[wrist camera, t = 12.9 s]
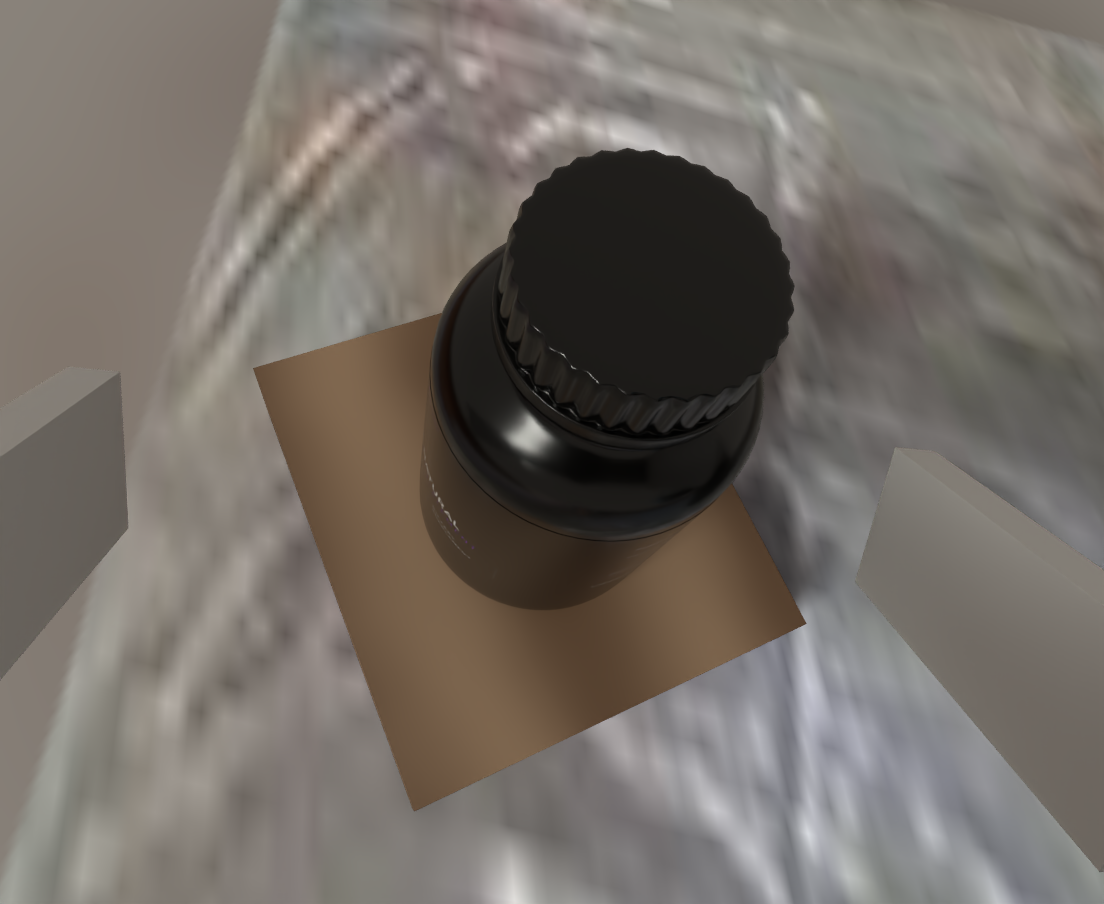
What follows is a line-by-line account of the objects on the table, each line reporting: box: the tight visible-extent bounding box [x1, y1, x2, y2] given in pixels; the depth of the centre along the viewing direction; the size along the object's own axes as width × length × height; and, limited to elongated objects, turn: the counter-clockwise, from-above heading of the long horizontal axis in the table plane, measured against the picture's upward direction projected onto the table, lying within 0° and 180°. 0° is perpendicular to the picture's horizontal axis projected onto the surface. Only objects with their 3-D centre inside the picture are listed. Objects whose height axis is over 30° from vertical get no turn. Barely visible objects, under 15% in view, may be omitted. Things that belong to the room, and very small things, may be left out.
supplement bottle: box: [419, 148, 794, 610], centre depth 19 cm, size 7×7×12 cm
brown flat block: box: [253, 313, 806, 811], centre depth 26 cm, size 12×13×3 cm
